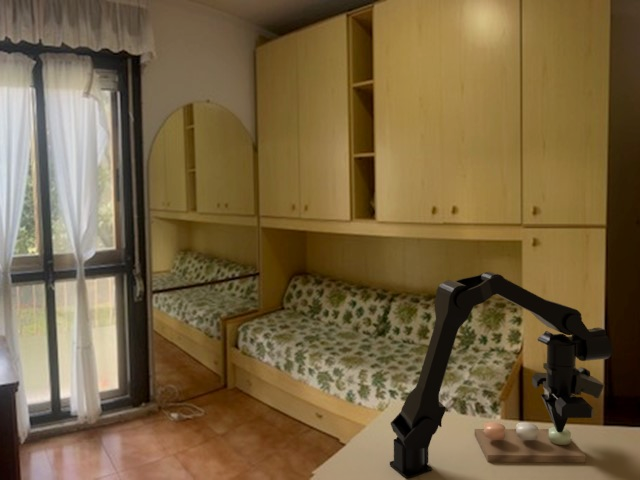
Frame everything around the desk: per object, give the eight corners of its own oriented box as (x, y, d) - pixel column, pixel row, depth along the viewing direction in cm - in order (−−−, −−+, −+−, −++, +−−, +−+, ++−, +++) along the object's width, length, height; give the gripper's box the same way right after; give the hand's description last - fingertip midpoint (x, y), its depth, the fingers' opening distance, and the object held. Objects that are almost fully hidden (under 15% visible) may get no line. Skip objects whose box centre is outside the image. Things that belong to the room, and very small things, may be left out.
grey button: (519, 440, 115) (520, 431, 115) (513, 430, 119) (513, 422, 119) (540, 440, 115) (540, 431, 114) (533, 430, 119) (533, 422, 119)
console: (487, 461, 112) (487, 454, 112) (474, 435, 124) (474, 428, 124) (585, 462, 111) (585, 454, 111) (562, 435, 123) (562, 428, 122)
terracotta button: (487, 440, 115) (487, 431, 115) (482, 430, 120) (482, 422, 119) (507, 440, 115) (507, 431, 115) (501, 430, 119) (502, 422, 119)
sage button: (552, 444, 115) (553, 436, 114) (545, 435, 119) (545, 426, 119) (573, 444, 114) (574, 436, 114) (565, 435, 119) (565, 426, 118)
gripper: (621, 377, 105) (618, 453, 107) (580, 348, 124) (578, 413, 125) (563, 378, 106) (561, 452, 107) (531, 349, 124) (530, 413, 126)
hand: (559, 431), depth 116 cm, fingers closed, pressing on sage button
